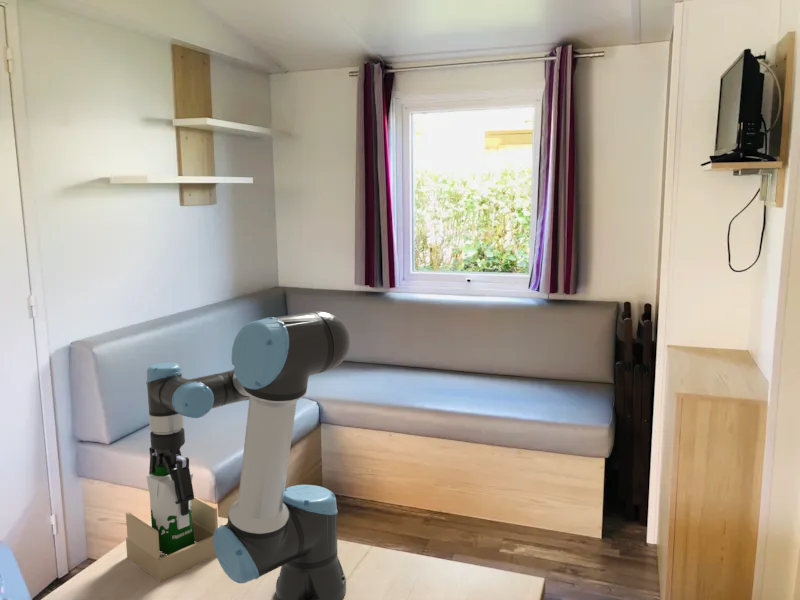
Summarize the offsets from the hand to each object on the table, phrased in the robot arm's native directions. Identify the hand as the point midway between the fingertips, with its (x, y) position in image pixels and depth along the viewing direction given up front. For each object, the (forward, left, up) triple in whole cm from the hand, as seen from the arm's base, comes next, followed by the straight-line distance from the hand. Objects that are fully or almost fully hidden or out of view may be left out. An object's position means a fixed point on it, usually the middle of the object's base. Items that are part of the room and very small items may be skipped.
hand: (172, 520), depth 155 cm
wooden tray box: (0, 0, -9) cm, 9 cm away
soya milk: (0, 0, -7) cm, 7 cm away
